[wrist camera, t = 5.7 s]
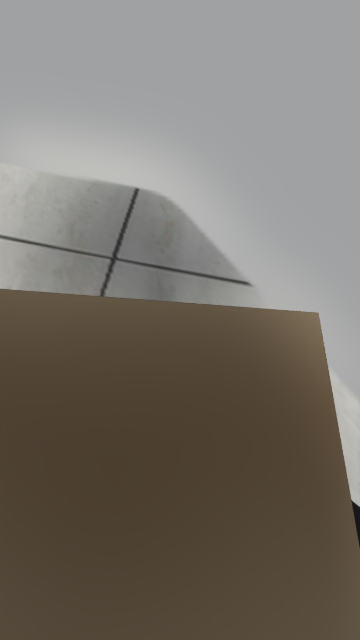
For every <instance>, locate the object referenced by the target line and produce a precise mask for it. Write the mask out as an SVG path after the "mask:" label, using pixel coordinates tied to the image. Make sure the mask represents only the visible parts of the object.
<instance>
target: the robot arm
mask: <svg viewBox="0 0 360 640" xmlns="http://www.w3.org/2000/svg"><path fill="white" fill-rule="evenodd" d="M351 501H352V500H351ZM352 507H353V513H354V518H355V524H356V530H357V536H358V541H359V547H360V507H359V506H358V505H357V504H355V503H354V502H353V501H352Z"/></svg>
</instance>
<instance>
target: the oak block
mask: <svg viewBox="0 0 360 640" xmlns="http://www.w3.org/2000/svg"><path fill="white" fill-rule="evenodd" d="M0 640H360V547H359V541H358V536H357V530H356V524H355V518H354V513H353V507H352V501H351V496H350V490H349V484H348V479H347V473H346V467H345V461H344V456H343V450H342V444H341V439H340V433H339V427H338V422H337V416H336V410H335V404H334V399H333V393H332V387H331V382H330V376H329V370H328V365H327V359H326V353H325V347H324V343H323V336H322V330H321V325H320V319H319V313H315V312H301V311H288V310H275V309H261V308H248V307H235V306H222V305H208V304H195V303H182V302H168V301H155V300H142V299H128V298H115V297H102V296H88V295H75V294H62V293H48V292H35V291H22V290H9V289H0Z"/></svg>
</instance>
